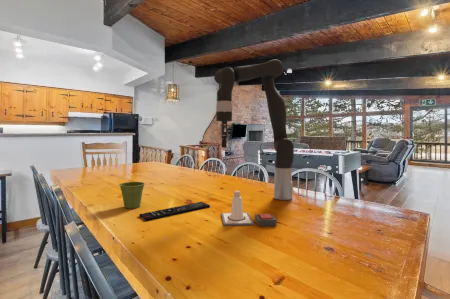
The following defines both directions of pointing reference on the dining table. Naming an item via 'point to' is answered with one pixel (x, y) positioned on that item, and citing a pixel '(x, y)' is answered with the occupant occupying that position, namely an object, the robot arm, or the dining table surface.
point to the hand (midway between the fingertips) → (223, 147)
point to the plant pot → (132, 194)
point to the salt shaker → (236, 206)
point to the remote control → (173, 211)
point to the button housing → (265, 221)
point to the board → (236, 220)
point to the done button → (265, 216)
